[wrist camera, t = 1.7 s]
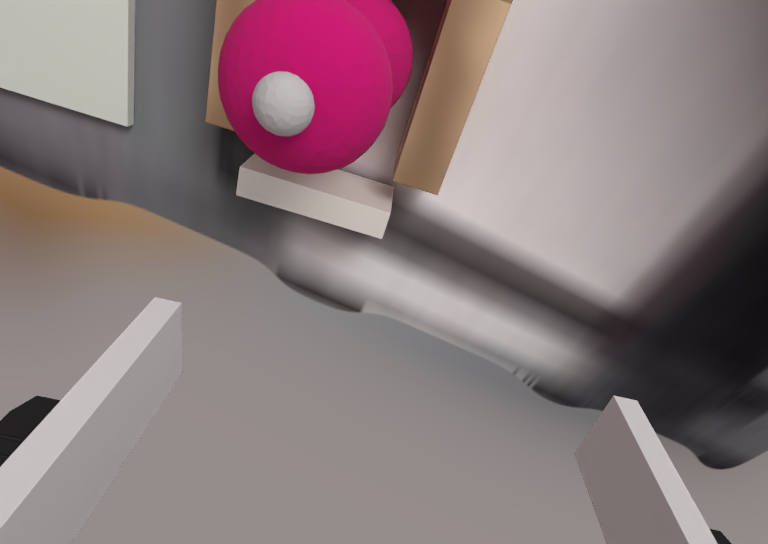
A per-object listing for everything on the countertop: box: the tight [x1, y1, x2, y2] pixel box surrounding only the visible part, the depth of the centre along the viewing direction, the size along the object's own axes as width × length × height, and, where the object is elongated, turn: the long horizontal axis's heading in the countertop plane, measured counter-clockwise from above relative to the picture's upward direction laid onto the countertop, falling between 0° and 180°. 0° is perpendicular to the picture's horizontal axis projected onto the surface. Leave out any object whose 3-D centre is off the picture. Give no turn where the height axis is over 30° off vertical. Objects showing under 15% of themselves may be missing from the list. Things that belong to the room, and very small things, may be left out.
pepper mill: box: [218, 0, 413, 174], centre depth 21 cm, size 7×7×20 cm
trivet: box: [0, 0, 135, 127], centre depth 29 cm, size 11×11×1 cm
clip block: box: [205, 0, 513, 195], centre depth 27 cm, size 15×14×5 cm
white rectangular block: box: [236, 153, 394, 239], centre depth 32 cm, size 10×2×5 cm, turn 73°
